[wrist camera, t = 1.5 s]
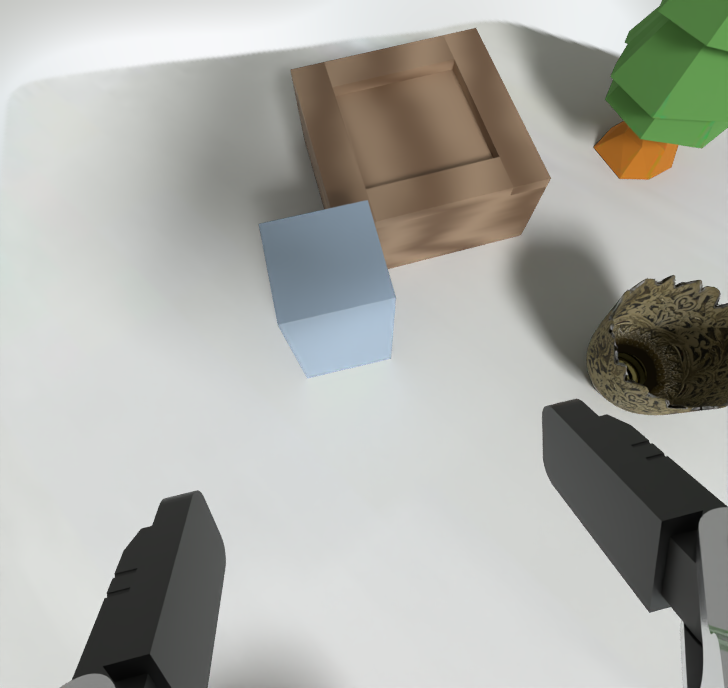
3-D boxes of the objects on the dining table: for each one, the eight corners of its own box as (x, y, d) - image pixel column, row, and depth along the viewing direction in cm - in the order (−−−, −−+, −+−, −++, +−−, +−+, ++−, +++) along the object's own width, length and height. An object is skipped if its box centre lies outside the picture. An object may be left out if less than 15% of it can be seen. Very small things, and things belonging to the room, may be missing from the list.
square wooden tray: (460, 104, 40) (475, 27, 34) (519, 237, 36) (550, 178, 29) (304, 140, 39) (290, 69, 33) (344, 281, 35) (337, 231, 28)
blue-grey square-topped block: (370, 284, 34) (367, 200, 25) (390, 358, 32) (395, 297, 23) (291, 302, 34) (258, 223, 25) (307, 378, 32) (277, 324, 23)
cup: (588, 308, 33) (649, 250, 26) (687, 364, 32) (784, 320, 24) (538, 392, 31) (589, 355, 24) (641, 455, 30) (731, 438, 22)
